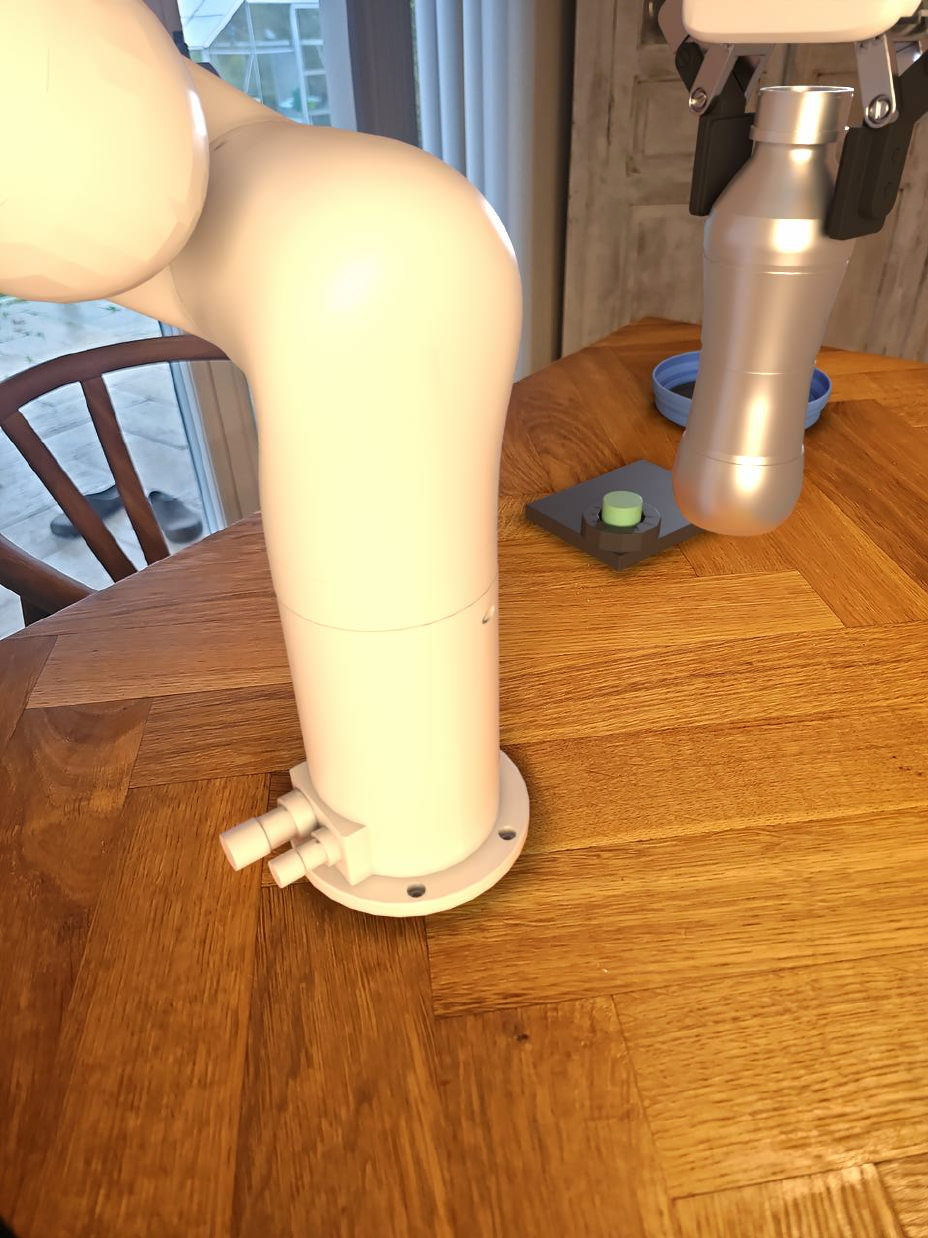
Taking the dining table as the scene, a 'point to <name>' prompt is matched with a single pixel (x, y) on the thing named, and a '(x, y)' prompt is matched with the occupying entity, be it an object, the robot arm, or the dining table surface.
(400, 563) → the robot arm
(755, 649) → the dining table surface
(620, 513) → the button
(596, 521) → the scale
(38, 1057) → the dining table surface
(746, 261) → the silver metal bottle
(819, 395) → the bowl
